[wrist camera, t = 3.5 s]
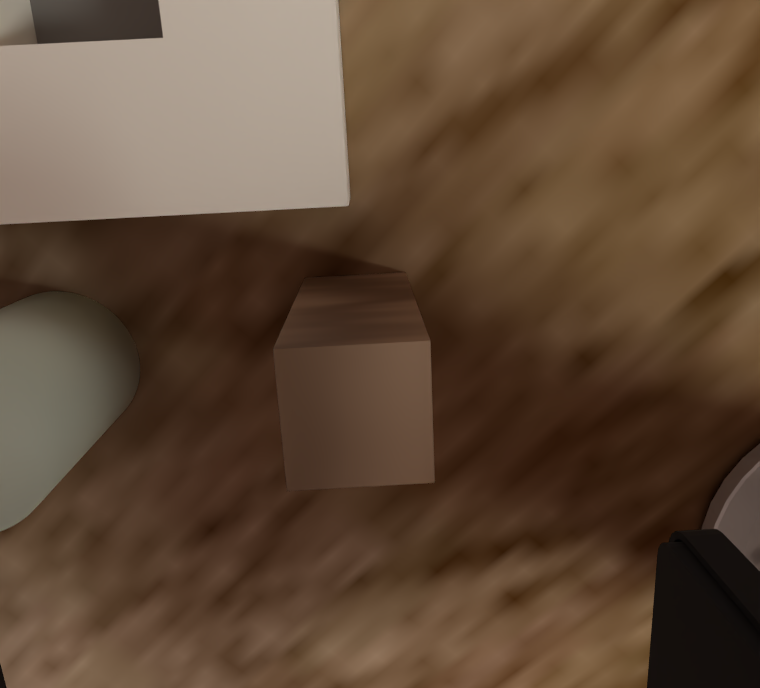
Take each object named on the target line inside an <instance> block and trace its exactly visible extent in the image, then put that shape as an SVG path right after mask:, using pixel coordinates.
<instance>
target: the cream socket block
mask: <svg viewBox="0 0 760 688" xmlns="http://www.w3.org/2000/svg"><path fill="white" fill-rule="evenodd" d="M349 202H350V184H349V168H348V151H347V135H346V119H345V102H344V86H343V70H342V53H341V37H340V20H339V4H338V0H0V225H1V224H19V223H38V222H57V221H76V220H95V219H113V218H132V217H151V216H170V215H189V214H207V213H226V212H245V211H264V210H283V209H301V208H320V207H339V206H349Z"/></svg>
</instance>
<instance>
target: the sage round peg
mask: <svg viewBox="0 0 760 688" xmlns="http://www.w3.org/2000/svg"><path fill="white" fill-rule="evenodd" d="M139 379H140V360H139V355H138V351H137V348H136V345H135V343H134V340H133V338H132V336H131V335H130V333H129V331H128V330H127V328H126V327H125V325H124V324H123V323H122V322H121V321H120V320H119V318H118V317H117V316H116V315H114V314H113V313H112V312H111V311H110V310H109V309H107V308H106V307H104V306H103V305H101V304H100V303H98V302H96V301H94V300H92V299H90V298H87V297H85V296H82V295H79V294H75V293H70V292H62V291H51V292H42V293H38V294H34V295H31V296H29V297H26V298H24V299H22V300H19V301H17V302H15V303H13V304H10V305H8V306H6V307H3V308H1V309H0V531H2V530H5V529H8V528H10V527H12V526H13V525H15V524H17V523H19V522H20V521H22V520H23V519H24V518H26V517H27V516H28V515H29V514H30V513H31V512H32V511H33V510H34V509H35V508H36V507H37V506H38V505H39V504H40V503H41V502H42V501H43V499H44V498H45V497H46V496H47V495H48V494H49V493H50V492H51V491H52V490H53V489H54V487H55V486H56V485H57V484H58V483H59V482H60V481H61V480H62V479H63V478H64V476H65V475H66V474H67V473H68V472H69V471H70V470H71V469H72V468H73V467H74V465H75V464H76V463H77V462H78V461H79V460H80V459H81V458H82V457H83V456H84V454H85V453H86V452H87V451H88V450H89V449H90V448H91V447H92V446H93V445H94V444H95V442H96V441H97V440H98V439H99V438H100V437H101V436H102V435H103V434H104V433H105V431H106V430H107V429H108V428H109V427H110V426H111V425H112V424H113V423H114V422H115V420H116V419H117V418H118V417H119V416H120V415H121V414H122V413H123V412H124V411H125V410H126V408H127V407H128V406H129V404H130V403H131V401H132V399H133V397H134V396H135V393H136V391H137V388H138V384H139Z"/></svg>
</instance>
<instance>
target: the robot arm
mask: <svg viewBox="0 0 760 688" xmlns="http://www.w3.org/2000/svg"><path fill="white" fill-rule="evenodd" d="M0 688H6V684H5V680H4V676H3V673H2V669H1V665H0ZM647 688H760V444H759V445H757V446H756V447H755V448H754V449H753V450H752V451H750V452H749V453H748V454H747V455H746V456H744V457H743V458H742V459H741V460H740V462H739V463H738V464H737V465H736V466H735V468H734V469H733V470H732V471H731V472H730V473H729V475H728V476H727V477H726V478H725V479H724V481H723V483H722V484H721V486H720V488H719V489H718V491H717V493H716V495H715V496H714V498H713V500H712V501H711V503H710V506H709V509H708V512H707V514H706V517H705V520H704V523H703V525H702V529H701V530H686V531H675V532H674V533H672V535H671V537H670V539H669V542H668V543H662V544H660V546H659V548H658V555H657V568H656V580H655V593H654V606H653V618H652V631H651V644H650V657H649V669H648V682H647Z"/></svg>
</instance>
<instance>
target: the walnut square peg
mask: <svg viewBox="0 0 760 688" xmlns="http://www.w3.org/2000/svg"><path fill="white" fill-rule="evenodd" d="M273 357H274V367H275V377H276V387H277V397H278V407H279V417H280V427H281V437H282V448H283V458H284V468H285V478H286V488H287V491H302V490H319V489H336V488H353V487H370V486H387V485H404V484H421V483H435V474H434V441H433V408H432V375H431V341H430V338H429V335H428V333H427V330H426V327H425V324H424V322H423V319H422V316H421V313H420V311H419V308H418V305H417V303H416V300H415V297H414V294H413V292H412V289H411V286H410V284H409V281H408V278H407V275H406V273H405V272H398V273H380V274H362V275H343V276H325V277H307V278H304V280H303V283H302V285H301V287H300V289H299V292H298V294H297V296H296V298H295V301H294V303H293V305H292V307H291V310H290V312H289V314H288V316H287V319H286V321H285V323H284V325H283V328H282V330H281V332H280V334H279V337H278V339H277V341H276V343H275V346H274V348H273Z"/></svg>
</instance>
